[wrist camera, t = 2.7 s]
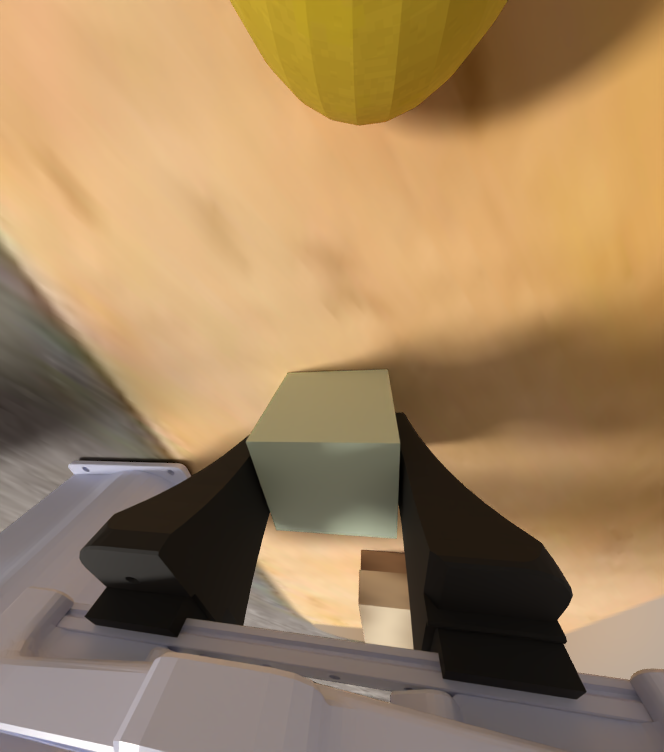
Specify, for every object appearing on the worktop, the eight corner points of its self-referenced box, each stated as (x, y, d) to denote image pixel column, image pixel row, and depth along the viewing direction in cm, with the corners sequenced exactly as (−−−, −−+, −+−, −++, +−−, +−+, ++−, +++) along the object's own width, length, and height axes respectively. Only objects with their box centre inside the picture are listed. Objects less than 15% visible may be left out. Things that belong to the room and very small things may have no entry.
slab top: (366, 620, 22) (366, 652, 21) (359, 569, 18) (358, 604, 17) (472, 632, 21) (482, 668, 19) (491, 580, 17) (505, 620, 15)
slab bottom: (365, 593, 24) (365, 620, 22) (361, 541, 20) (360, 569, 18) (463, 603, 23) (471, 633, 21) (480, 550, 19) (492, 581, 17)
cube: (302, 445, 15) (276, 529, 10) (287, 372, 13) (245, 441, 8) (387, 447, 14) (396, 538, 10) (387, 369, 12) (400, 443, 7)
